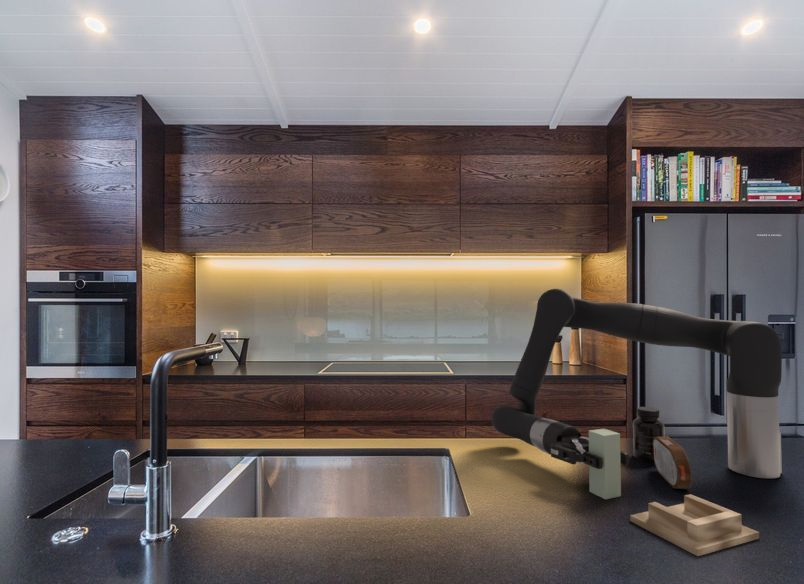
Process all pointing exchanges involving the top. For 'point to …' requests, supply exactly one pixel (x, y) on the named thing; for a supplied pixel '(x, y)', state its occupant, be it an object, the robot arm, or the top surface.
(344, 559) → the top surface
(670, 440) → the tin
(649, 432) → the supplement bottle
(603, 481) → the green block
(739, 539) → the rack
